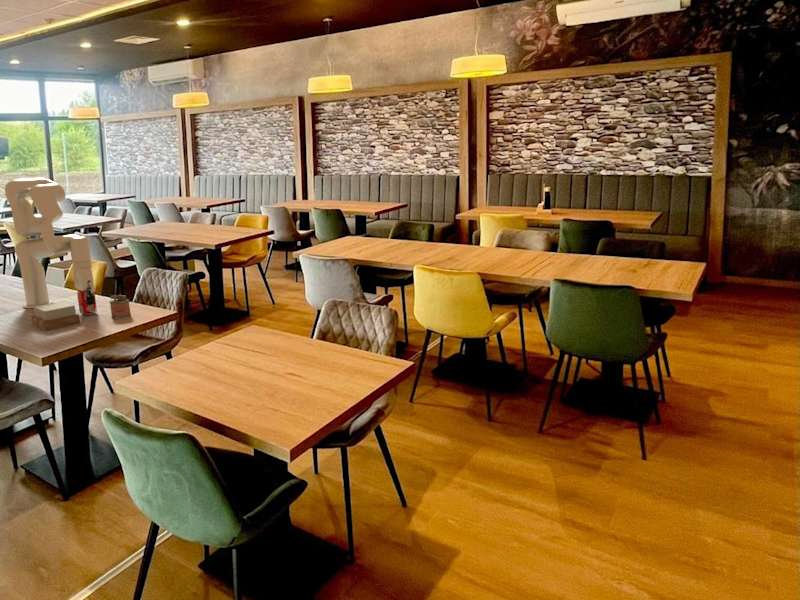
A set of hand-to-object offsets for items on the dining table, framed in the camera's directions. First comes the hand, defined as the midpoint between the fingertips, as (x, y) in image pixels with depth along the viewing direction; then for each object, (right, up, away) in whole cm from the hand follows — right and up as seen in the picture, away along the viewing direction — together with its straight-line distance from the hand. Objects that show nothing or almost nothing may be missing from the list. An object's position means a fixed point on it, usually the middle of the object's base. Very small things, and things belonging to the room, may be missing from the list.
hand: (87, 302), depth 285 cm
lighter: (+17, -6, -4) cm, 19 cm away
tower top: (-6, -5, -15) cm, 17 cm away
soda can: (0, -5, +1) cm, 5 cm away
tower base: (-6, -9, -14) cm, 18 cm away
